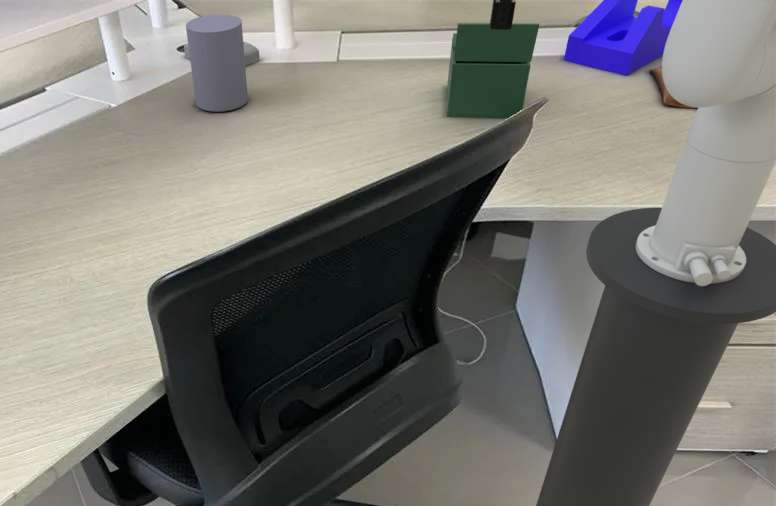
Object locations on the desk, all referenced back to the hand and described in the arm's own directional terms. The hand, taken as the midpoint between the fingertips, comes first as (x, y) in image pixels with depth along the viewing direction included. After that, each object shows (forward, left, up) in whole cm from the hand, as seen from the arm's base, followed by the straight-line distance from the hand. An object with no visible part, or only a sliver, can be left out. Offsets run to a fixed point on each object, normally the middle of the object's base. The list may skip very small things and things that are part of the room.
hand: (500, 27), depth 110 cm
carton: (+15, 0, -18) cm, 23 cm away
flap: (+7, 0, -5) cm, 8 cm away
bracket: (+42, -29, -18) cm, 54 cm away
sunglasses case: (+23, -36, -18) cm, 47 cm away
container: (+12, +50, -18) cm, 54 cm away
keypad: (+36, +56, -18) cm, 69 cm away
